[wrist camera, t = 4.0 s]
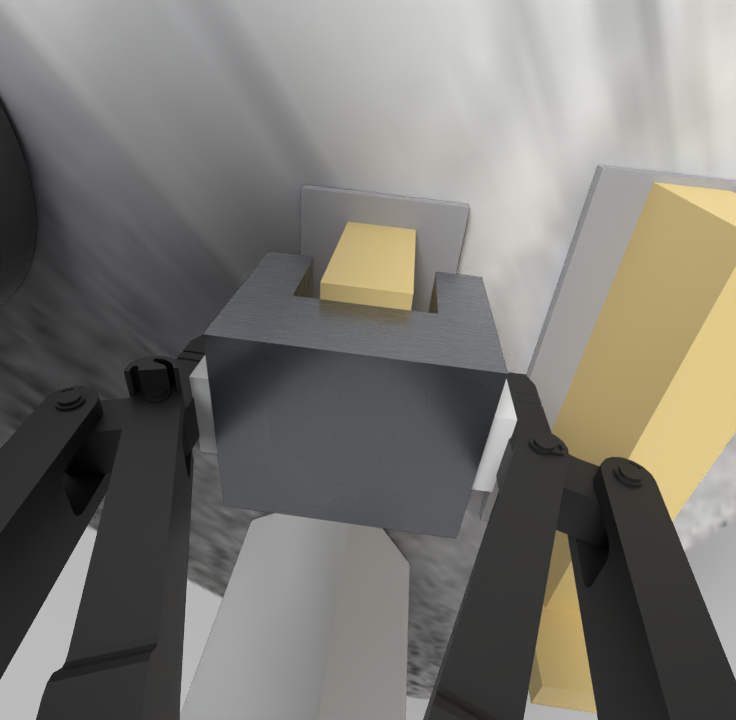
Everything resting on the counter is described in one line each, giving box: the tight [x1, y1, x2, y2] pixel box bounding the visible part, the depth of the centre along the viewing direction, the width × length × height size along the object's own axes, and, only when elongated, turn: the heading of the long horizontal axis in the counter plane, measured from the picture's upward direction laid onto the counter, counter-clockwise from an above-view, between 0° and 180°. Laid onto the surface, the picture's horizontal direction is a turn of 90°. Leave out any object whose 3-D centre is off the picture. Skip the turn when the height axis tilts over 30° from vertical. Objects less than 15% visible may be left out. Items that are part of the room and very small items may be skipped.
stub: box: [300, 185, 470, 313], centre depth 17 cm, size 6×9×6 cm, turn 175°
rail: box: [480, 165, 736, 713], centre depth 17 cm, size 6×18×9 cm, turn 175°
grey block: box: [203, 251, 508, 539], centre depth 15 cm, size 7×6×6 cm
